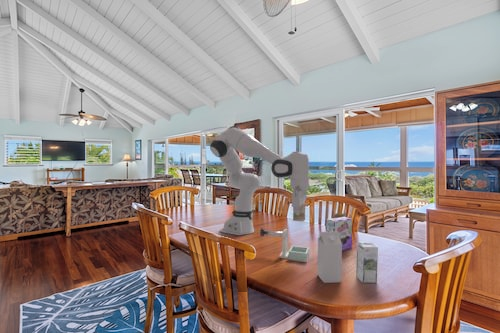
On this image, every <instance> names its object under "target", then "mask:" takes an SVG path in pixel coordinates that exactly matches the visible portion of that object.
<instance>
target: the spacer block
mask: <svg viewBox="0 0 500 333" xmlns="http://www.w3.org/2000/svg"><path fill="white" fill-rule="evenodd" d="M292 212H293V213H292V221H295V222H305V220H306V203H305V202H304V203H303V204H302V205H301V206H300V215H296V210H295V207H292Z"/></svg>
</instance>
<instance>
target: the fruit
mask: <svg viewBox="0 0 500 333" xmlns="http://www.w3.org/2000/svg"><path fill="white" fill-rule="evenodd" d="M340 217H347V215H346V214H345V213H342V212H337V213H335V214H334V215H333V216H332V218H340ZM332 218H331V219H332Z"/></svg>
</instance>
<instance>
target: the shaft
mask: <svg viewBox="0 0 500 333" xmlns="http://www.w3.org/2000/svg"><path fill="white" fill-rule="evenodd" d="M259 234H260V236H261V237H265V236H276V237H282V234H283V231H274V230H273V231H272V230H266V229H265V228H264V227H262V228H261V229H260V233H259ZM287 235H288V236H289V234H287V233H286V237H287Z"/></svg>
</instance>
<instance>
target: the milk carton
mask: <svg viewBox="0 0 500 333" xmlns="http://www.w3.org/2000/svg"><path fill="white" fill-rule="evenodd" d="M342 259H343V250H342V243H341V240H340V237H339V235H338V232H326V231H321V232H320V234H319V237H318V238H317V276H318V277H319V278H320V280H321V281H322V283H326V284H327V283H329V284H330V283H334V284H335V283H342V274H343V273H342V272H343V271H342V268H343V266H342V264H343V262H342V261H343V260H342Z"/></svg>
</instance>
